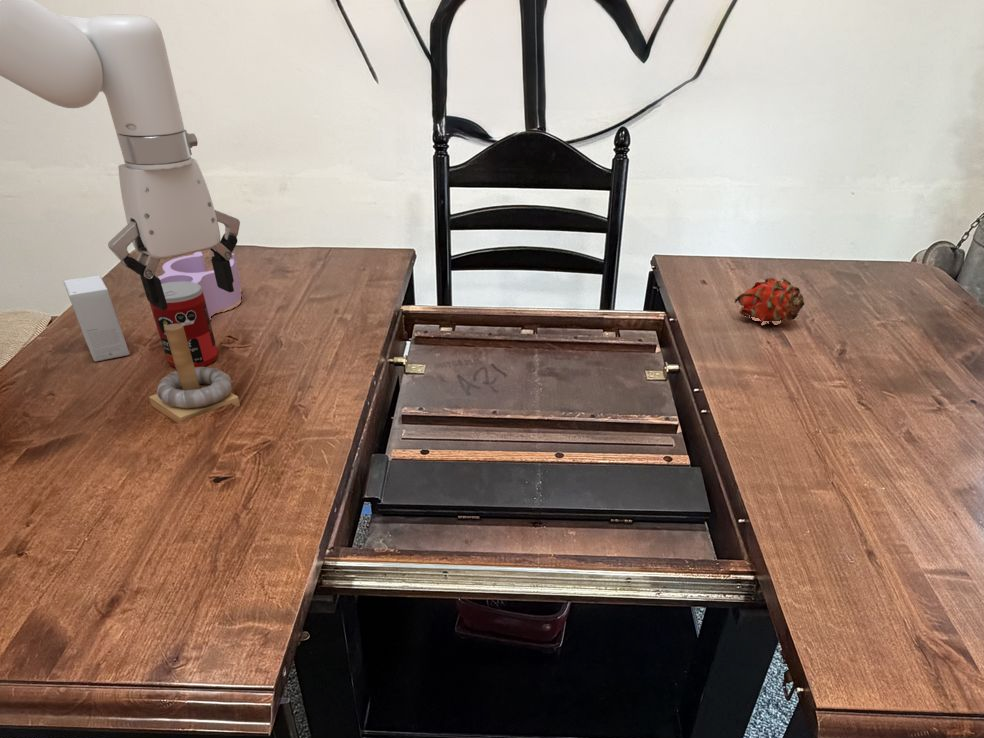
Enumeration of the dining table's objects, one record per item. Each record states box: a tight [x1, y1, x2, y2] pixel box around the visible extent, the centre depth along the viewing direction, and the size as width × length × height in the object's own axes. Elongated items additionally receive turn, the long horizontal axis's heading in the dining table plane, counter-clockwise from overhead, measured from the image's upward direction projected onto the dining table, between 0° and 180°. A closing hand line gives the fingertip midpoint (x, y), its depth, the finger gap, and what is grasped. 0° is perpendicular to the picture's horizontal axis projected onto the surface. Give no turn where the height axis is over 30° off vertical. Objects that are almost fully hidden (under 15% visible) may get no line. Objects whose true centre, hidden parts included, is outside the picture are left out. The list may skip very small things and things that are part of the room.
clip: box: [157, 251, 242, 319], centre depth 130 cm, size 20×12×7 cm, turn 173°
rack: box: [148, 324, 241, 424], centre depth 99 cm, size 9×9×12 cm
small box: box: [62, 275, 131, 363], centre depth 113 cm, size 8×6×10 cm
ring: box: [156, 366, 233, 408], centre depth 101 cm, size 10×10×2 cm
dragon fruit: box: [734, 277, 806, 323], centre depth 128 cm, size 8×8×12 cm
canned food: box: [149, 281, 218, 369], centre depth 111 cm, size 8×8×11 cm
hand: (194, 298), depth 95 cm, fingers open, 9 cm apart
